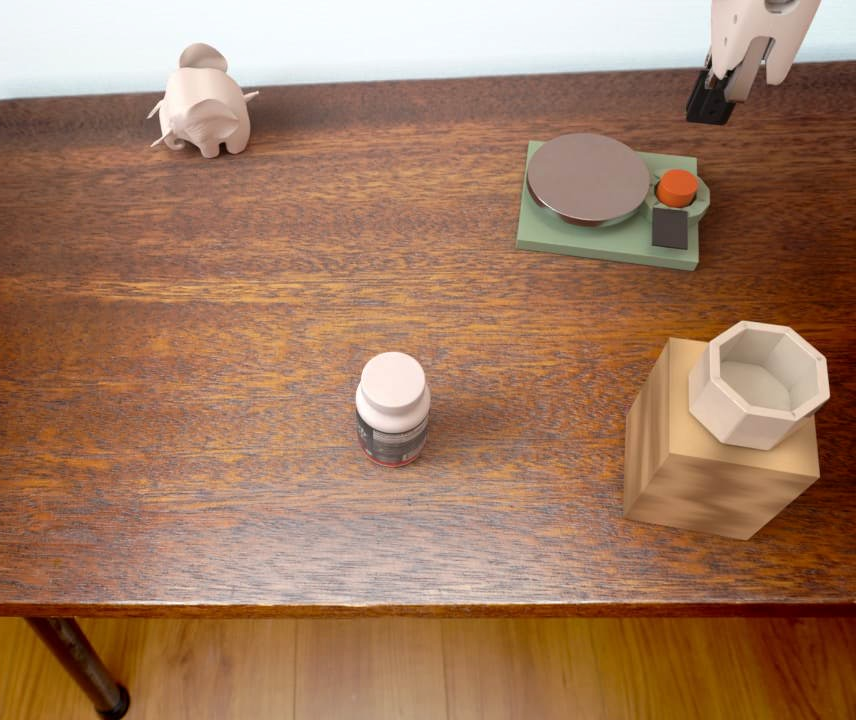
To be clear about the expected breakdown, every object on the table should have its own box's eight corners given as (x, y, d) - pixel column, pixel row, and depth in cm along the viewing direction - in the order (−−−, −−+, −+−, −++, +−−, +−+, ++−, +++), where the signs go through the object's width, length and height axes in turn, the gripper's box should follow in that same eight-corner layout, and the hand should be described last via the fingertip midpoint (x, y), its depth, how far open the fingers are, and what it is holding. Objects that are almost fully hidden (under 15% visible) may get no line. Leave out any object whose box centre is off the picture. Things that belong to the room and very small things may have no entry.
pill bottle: (357, 406, 69) (354, 344, 61) (425, 406, 69) (431, 343, 60) (357, 469, 66) (354, 412, 58) (427, 469, 66) (434, 412, 57)
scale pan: (686, 150, 78) (689, 143, 77) (687, 250, 72) (690, 243, 71) (531, 134, 80) (532, 127, 79) (519, 229, 74) (521, 222, 73)
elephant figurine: (149, 120, 89) (128, 51, 82) (257, 99, 90) (246, 29, 82) (158, 182, 84) (136, 116, 77) (272, 160, 85) (261, 92, 77)
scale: (698, 168, 81) (708, 145, 78) (700, 272, 74) (711, 251, 72) (527, 150, 83) (532, 127, 81) (515, 248, 77) (519, 227, 74)
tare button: (692, 184, 76) (698, 171, 75) (692, 210, 75) (698, 197, 73) (656, 180, 77) (661, 167, 75) (655, 206, 75) (661, 192, 74)
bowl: (792, 367, 55) (823, 330, 51) (800, 458, 52) (833, 426, 48) (686, 352, 56) (709, 315, 52) (687, 440, 53) (711, 407, 49)
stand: (742, 434, 66) (808, 356, 56) (746, 540, 61) (820, 477, 51) (625, 416, 67) (669, 336, 57) (622, 518, 63) (669, 452, 53)
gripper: (882, -25, 48) (756, 189, 64) (855, -162, 55) (748, 61, 71) (747, -35, 49) (656, 178, 65) (738, -168, 57) (658, 53, 72)
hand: (704, 116), depth 68 cm, fingers closed
